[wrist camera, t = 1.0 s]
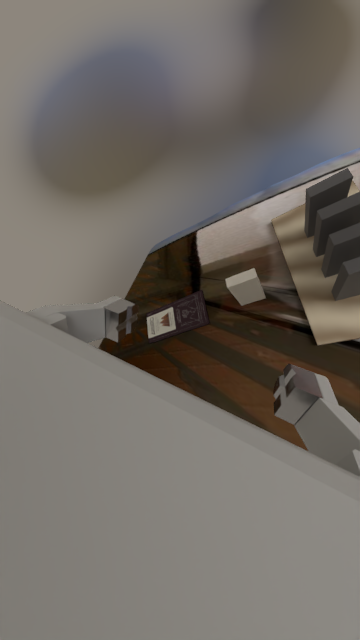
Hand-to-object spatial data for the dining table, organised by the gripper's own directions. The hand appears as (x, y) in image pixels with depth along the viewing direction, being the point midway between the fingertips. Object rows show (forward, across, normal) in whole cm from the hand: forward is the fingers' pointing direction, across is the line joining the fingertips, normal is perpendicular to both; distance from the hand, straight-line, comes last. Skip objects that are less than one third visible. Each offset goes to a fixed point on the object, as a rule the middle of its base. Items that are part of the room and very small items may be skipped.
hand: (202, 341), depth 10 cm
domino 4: (+33, -15, -2) cm, 36 cm away
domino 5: (+30, -17, 0) cm, 34 cm away
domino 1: (+32, -3, +7) cm, 33 cm away
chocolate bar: (+32, +13, +19) cm, 40 cm away
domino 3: (+35, -12, -5) cm, 38 cm away
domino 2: (+38, -10, -8) cm, 40 cm away
